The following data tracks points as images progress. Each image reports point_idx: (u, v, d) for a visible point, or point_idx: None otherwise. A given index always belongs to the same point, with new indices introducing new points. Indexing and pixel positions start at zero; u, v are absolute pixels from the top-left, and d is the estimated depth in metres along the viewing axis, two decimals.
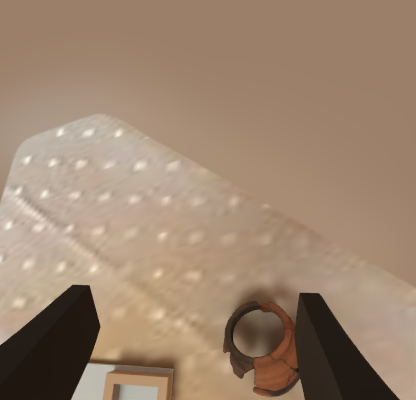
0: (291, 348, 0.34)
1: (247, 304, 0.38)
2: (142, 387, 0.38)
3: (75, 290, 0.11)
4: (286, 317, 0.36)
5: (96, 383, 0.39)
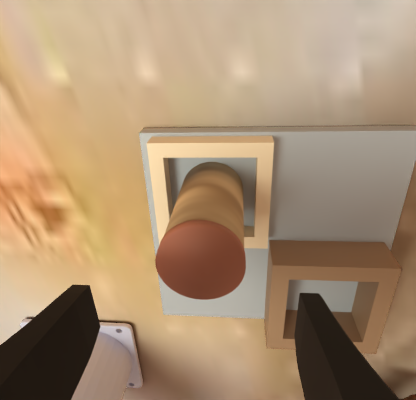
0: None
1: None
2: (348, 287, 0.22)
3: (75, 290, 0.11)
4: None
5: (364, 215, 0.20)
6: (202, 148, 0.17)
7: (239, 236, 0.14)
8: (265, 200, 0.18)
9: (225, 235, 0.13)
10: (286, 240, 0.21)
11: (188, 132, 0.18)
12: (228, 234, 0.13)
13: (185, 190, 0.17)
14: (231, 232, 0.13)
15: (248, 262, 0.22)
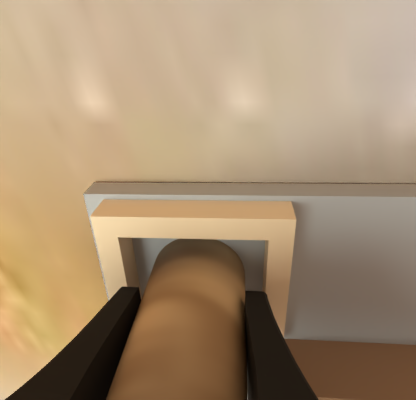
0: None
1: None
2: None
3: (126, 292, 0.11)
4: None
5: None
6: (179, 225, 0.11)
7: None
8: (280, 299, 0.12)
9: None
10: (308, 340, 0.14)
11: (159, 194, 0.12)
12: None
13: (149, 300, 0.10)
14: None
15: None
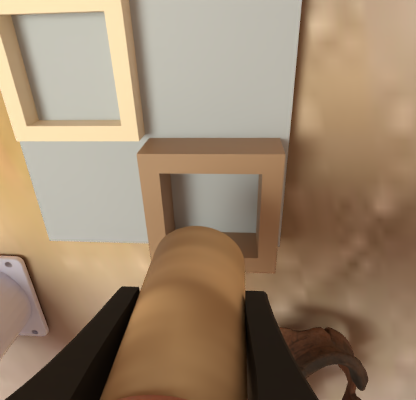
0: None
1: (363, 373, 0.21)
2: (248, 199, 0.19)
3: (126, 292, 0.11)
4: None
5: (251, 101, 0.17)
6: None
7: None
8: (124, 73, 0.15)
9: None
10: (168, 137, 0.18)
11: None
12: None
13: (145, 291, 0.10)
14: None
15: (131, 169, 0.19)
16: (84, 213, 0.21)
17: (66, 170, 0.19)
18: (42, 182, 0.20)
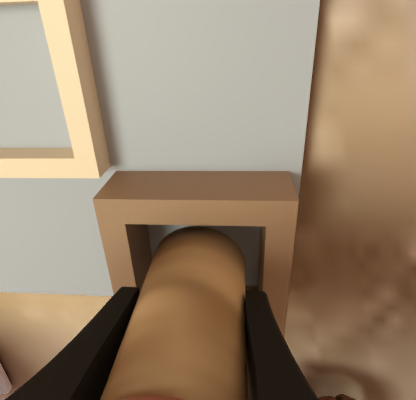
0: None
1: None
2: (247, 247, 0.15)
3: (126, 292, 0.11)
4: None
5: (251, 123, 0.12)
6: None
7: None
8: (73, 88, 0.11)
9: None
10: (141, 170, 0.14)
11: None
12: None
13: (145, 291, 0.10)
14: None
15: (95, 209, 0.15)
16: (40, 261, 0.16)
17: (13, 210, 0.15)
18: None
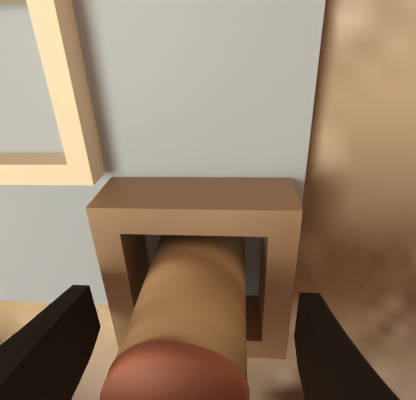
0: None
1: None
2: (248, 255, 0.14)
3: (75, 290, 0.11)
4: None
5: (252, 128, 0.12)
6: None
7: (235, 354, 0.08)
8: (64, 91, 0.10)
9: (206, 372, 0.07)
10: (137, 177, 0.13)
11: None
12: (212, 368, 0.07)
13: (155, 264, 0.11)
14: (219, 358, 0.08)
15: None
16: (33, 269, 0.16)
17: (4, 217, 0.14)
18: None
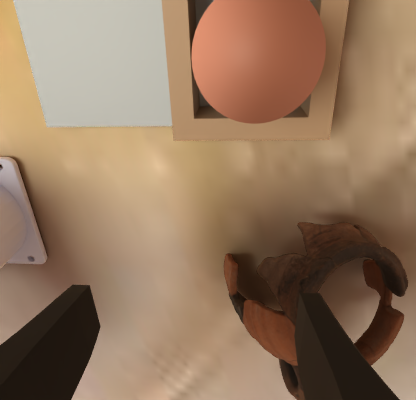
0: None
1: (402, 273, 0.17)
2: None
3: (75, 290, 0.11)
4: (379, 357, 0.18)
5: None
6: None
7: None
8: None
9: None
10: None
11: None
12: None
13: None
14: None
15: (146, 15, 0.15)
16: (88, 85, 0.17)
17: (66, 21, 0.16)
18: (36, 41, 0.16)
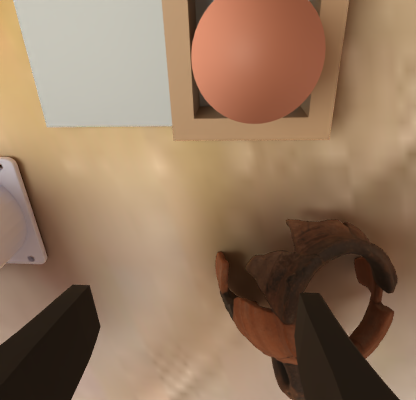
0: None
1: (391, 270, 0.17)
2: None
3: (75, 290, 0.11)
4: (369, 354, 0.18)
5: None
6: None
7: None
8: None
9: None
10: None
11: None
12: None
13: None
14: None
15: (146, 15, 0.15)
16: (88, 85, 0.17)
17: (66, 21, 0.16)
18: (36, 41, 0.16)
